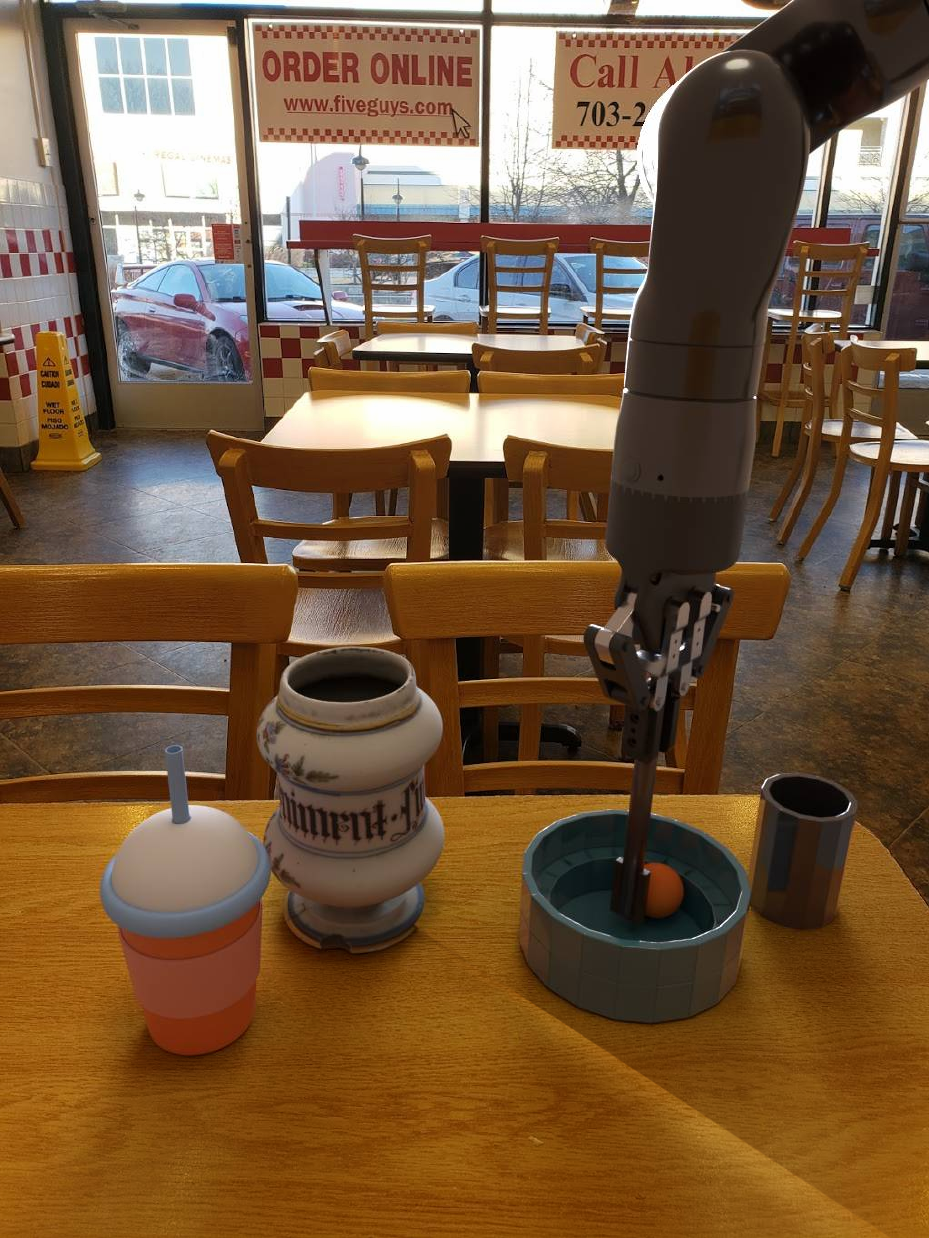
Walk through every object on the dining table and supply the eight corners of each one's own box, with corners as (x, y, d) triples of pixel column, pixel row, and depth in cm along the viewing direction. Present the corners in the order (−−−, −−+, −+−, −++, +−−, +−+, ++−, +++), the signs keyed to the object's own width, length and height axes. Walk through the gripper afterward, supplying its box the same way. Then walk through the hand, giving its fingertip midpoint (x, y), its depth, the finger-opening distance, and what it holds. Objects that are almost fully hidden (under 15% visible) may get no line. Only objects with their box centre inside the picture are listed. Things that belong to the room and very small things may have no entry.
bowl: (599, 855, 71) (605, 787, 69) (776, 944, 62) (789, 869, 60) (474, 949, 61) (476, 873, 59) (663, 1070, 53) (673, 986, 50)
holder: (768, 868, 70) (785, 763, 67) (849, 905, 66) (872, 795, 63) (729, 906, 66) (745, 796, 63) (814, 948, 62) (836, 832, 59)
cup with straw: (305, 978, 59) (291, 722, 52) (234, 1095, 51) (206, 809, 44) (176, 949, 61) (146, 700, 54) (88, 1057, 53) (41, 779, 46)
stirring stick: (617, 903, 64) (645, 669, 58) (647, 919, 62) (679, 681, 56) (605, 912, 63) (632, 675, 57) (636, 929, 61) (667, 687, 55)
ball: (659, 908, 66) (684, 865, 65) (673, 936, 62) (700, 891, 62) (614, 889, 65) (639, 845, 65) (627, 915, 62) (653, 870, 61)
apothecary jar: (247, 961, 60) (225, 709, 53) (291, 850, 71) (277, 630, 65) (435, 972, 59) (437, 718, 53) (450, 858, 71) (452, 637, 64)
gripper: (675, 509, 45) (639, 819, 51) (797, 470, 54) (754, 736, 61) (550, 481, 50) (531, 769, 56) (682, 450, 59) (653, 699, 65)
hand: (647, 751), depth 58 cm, fingers closed on stirring stick, 1 cm apart
